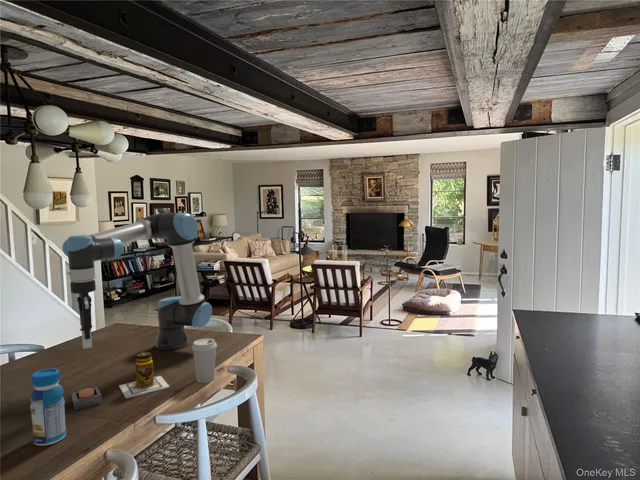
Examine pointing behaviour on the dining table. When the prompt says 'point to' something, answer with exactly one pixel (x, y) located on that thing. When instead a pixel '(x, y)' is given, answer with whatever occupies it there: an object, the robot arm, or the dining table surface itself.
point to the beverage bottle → (47, 407)
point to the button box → (86, 400)
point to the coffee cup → (204, 359)
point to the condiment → (144, 371)
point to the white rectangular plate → (133, 392)
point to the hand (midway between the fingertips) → (87, 347)
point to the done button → (86, 393)
